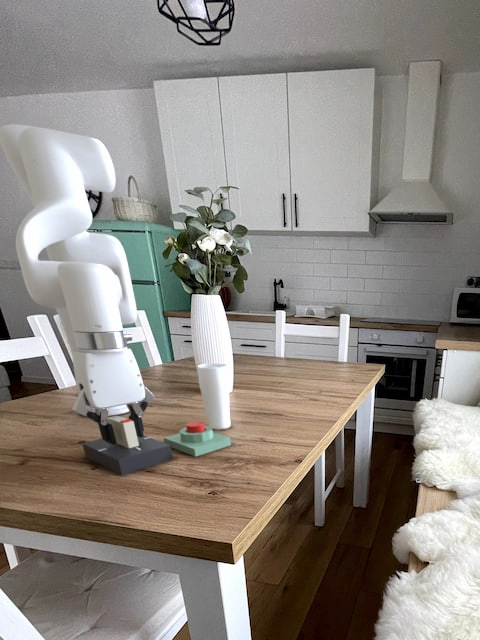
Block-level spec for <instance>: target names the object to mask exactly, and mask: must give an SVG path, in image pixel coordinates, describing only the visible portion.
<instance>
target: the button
mask: <svg viewBox="0 0 480 640" xmlns="http://www.w3.org/2000/svg"><path fill="white" fill-rule="evenodd" d="M204 426H205V423H204V422H202V421H191V422H188V423H186V425H185V427H187V432H188V433H200V432H203V431H205V427H204Z"/></svg>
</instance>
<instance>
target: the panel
mask: <svg viewBox="0 0 480 640" xmlns="http://www.w3.org/2000/svg"><path fill="white" fill-rule="evenodd" d="M137 439H138V443H139V446H136V447H132V448H127V447H124V446H122V445H120V444H117V443H116V444H114V445H112V444H109V443H107V442H106V441H105V440H103V439H102V438H98V439H94V440H89V441H86V442H82V443H81V445H82V448H83V451H84V454H85V457H86V458H87V459H89V460H91V461H93V462H95V463H97V464H99V465H101V466H103V467H105V468H107V469H109V470H111V471H113V472H115V473H117V474H119V475H121V476H123V475H126V474H130V473H133V472H136V471H140V470H142V469H145V468H149V467H151V466H154V465H158V464H161V463H164V462H168V461H170V460H171V461H172V460H173V454H172V447H170V445H168V444H166V443H165V442H163V441H160V440H158V439H155V438H153V437H152V436H147V435H144V437H141V438H140V437H138V436H137Z"/></svg>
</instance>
